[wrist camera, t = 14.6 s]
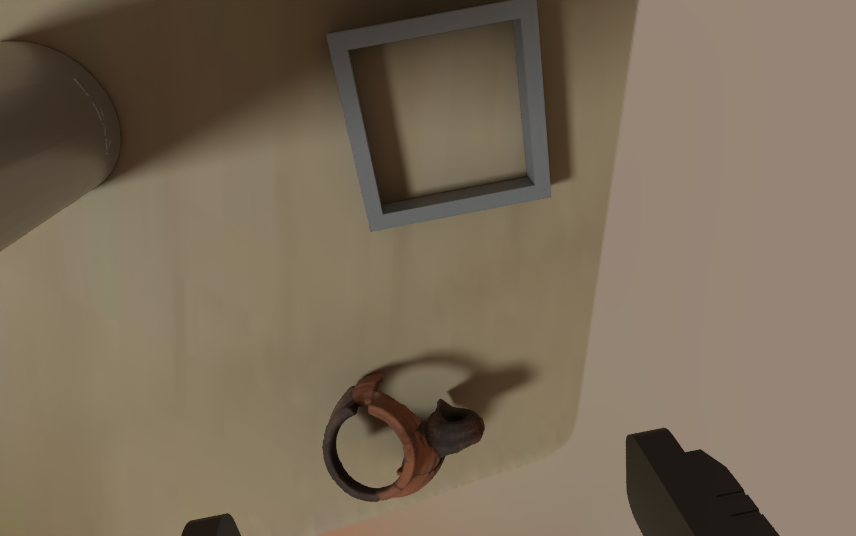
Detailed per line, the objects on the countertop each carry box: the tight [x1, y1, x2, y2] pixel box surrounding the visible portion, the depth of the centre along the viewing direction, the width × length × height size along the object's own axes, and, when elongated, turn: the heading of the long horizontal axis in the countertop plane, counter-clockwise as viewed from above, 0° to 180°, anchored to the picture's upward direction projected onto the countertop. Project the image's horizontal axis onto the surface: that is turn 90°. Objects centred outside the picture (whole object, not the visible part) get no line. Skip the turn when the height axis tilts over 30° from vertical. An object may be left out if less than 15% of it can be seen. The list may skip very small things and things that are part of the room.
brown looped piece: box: [322, 374, 485, 502], centre depth 43 cm, size 12×10×8 cm
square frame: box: [326, 0, 551, 232], centre depth 35 cm, size 12×12×2 cm
